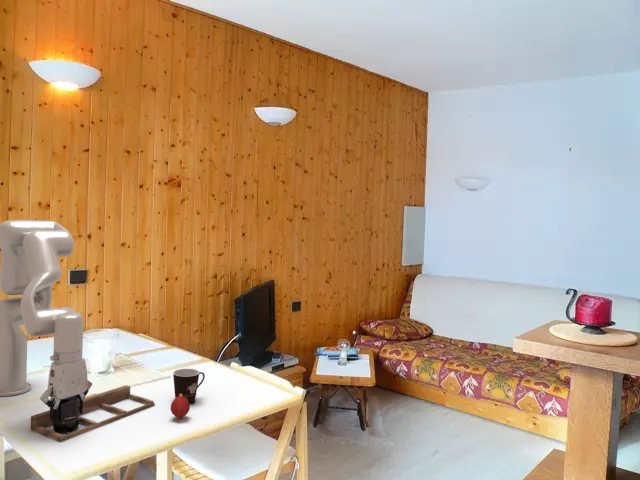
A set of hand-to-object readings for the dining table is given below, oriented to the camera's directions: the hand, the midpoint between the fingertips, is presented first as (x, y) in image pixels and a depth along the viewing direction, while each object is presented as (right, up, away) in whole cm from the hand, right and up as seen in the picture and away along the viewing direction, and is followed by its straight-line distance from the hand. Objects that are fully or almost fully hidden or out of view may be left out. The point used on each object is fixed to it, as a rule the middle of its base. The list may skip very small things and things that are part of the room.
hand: (66, 416), depth 157 cm
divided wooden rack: (+5, -3, +10) cm, 12 cm away
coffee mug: (+29, -4, +27) cm, 40 cm away
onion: (+29, -5, +12) cm, 32 cm away
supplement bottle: (0, -4, 0) cm, 4 cm away
